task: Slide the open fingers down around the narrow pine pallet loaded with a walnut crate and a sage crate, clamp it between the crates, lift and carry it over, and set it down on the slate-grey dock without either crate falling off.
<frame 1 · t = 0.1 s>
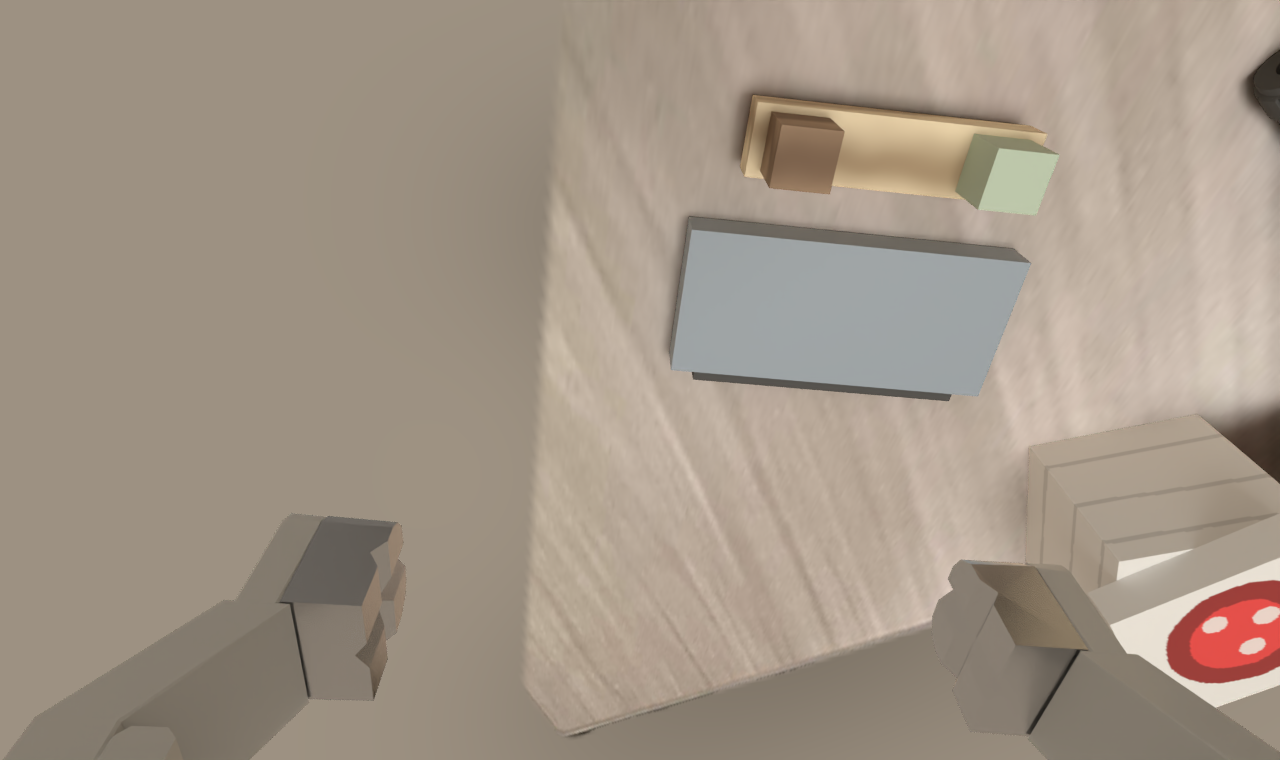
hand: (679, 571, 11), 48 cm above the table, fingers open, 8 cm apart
crate b: (992, 166, 52), point 4 cm above the table, touching pallet
crate a: (794, 144, 51), point 4 cm above the table, touching pallet
pizza boxes: (1164, 477, 72), on the table
dock: (835, 302, 62), on the table
pallet: (877, 141, 55), on the table, touching crate a, crate b
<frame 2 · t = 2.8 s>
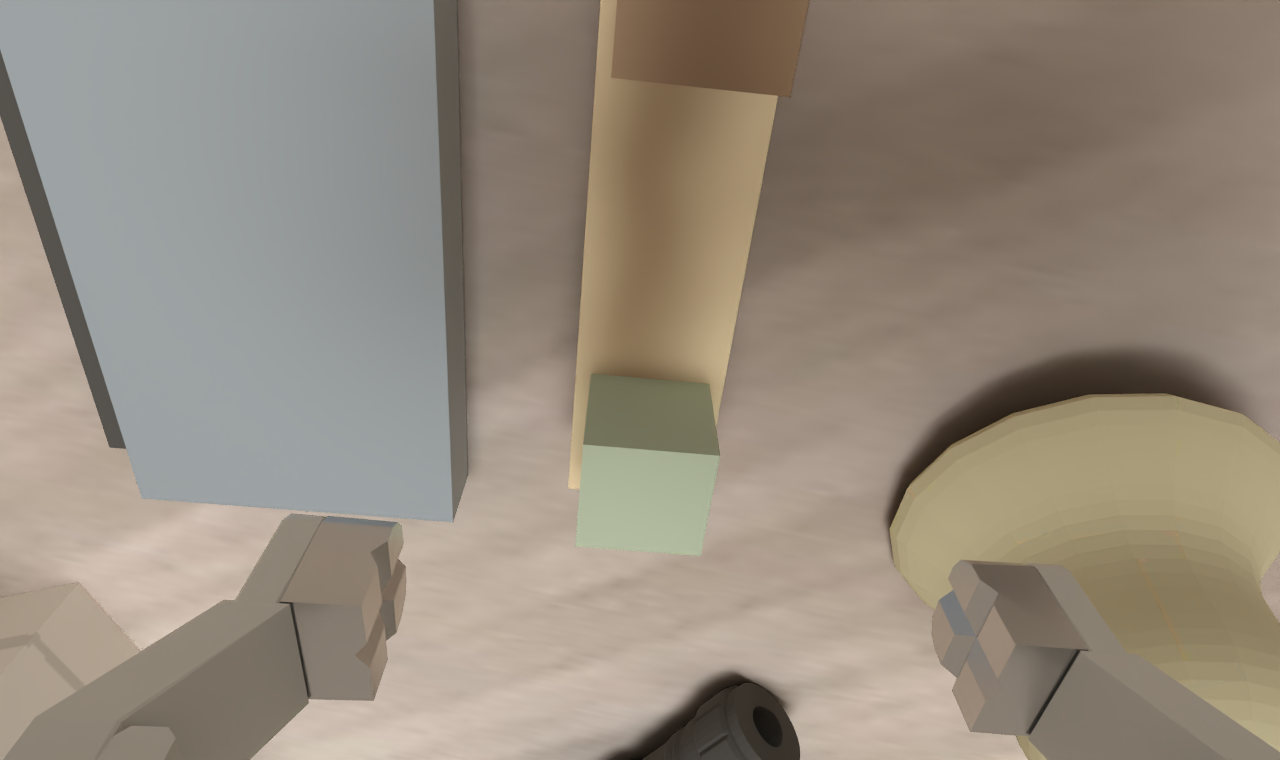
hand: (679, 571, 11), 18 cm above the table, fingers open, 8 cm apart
crate b: (644, 427, 26), point 4 cm above the table, touching pallet
pizza boxes: (110, 754, 43), on the table
handbell: (1056, 500, 33), on the table
dock: (282, 158, 25), on the table
pallet: (664, 196, 26), on the table, touching crate a, crate b
flashlight: (665, 744, 43), on the table
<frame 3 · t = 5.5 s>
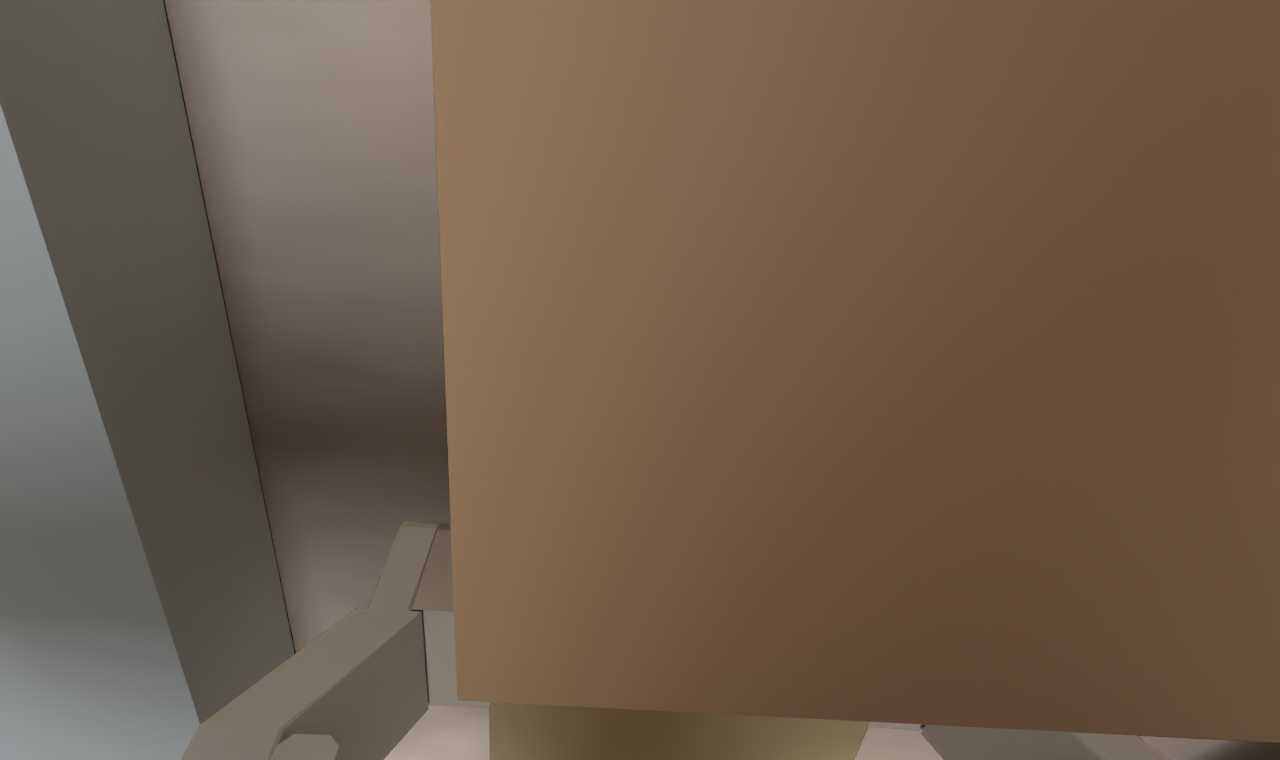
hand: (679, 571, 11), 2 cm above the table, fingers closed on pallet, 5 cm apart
crate a: (809, 100, 6), point 4 cm above the table, touching pallet
pallet: (673, 480, 13), on the table, touching crate a, crate b, gripper
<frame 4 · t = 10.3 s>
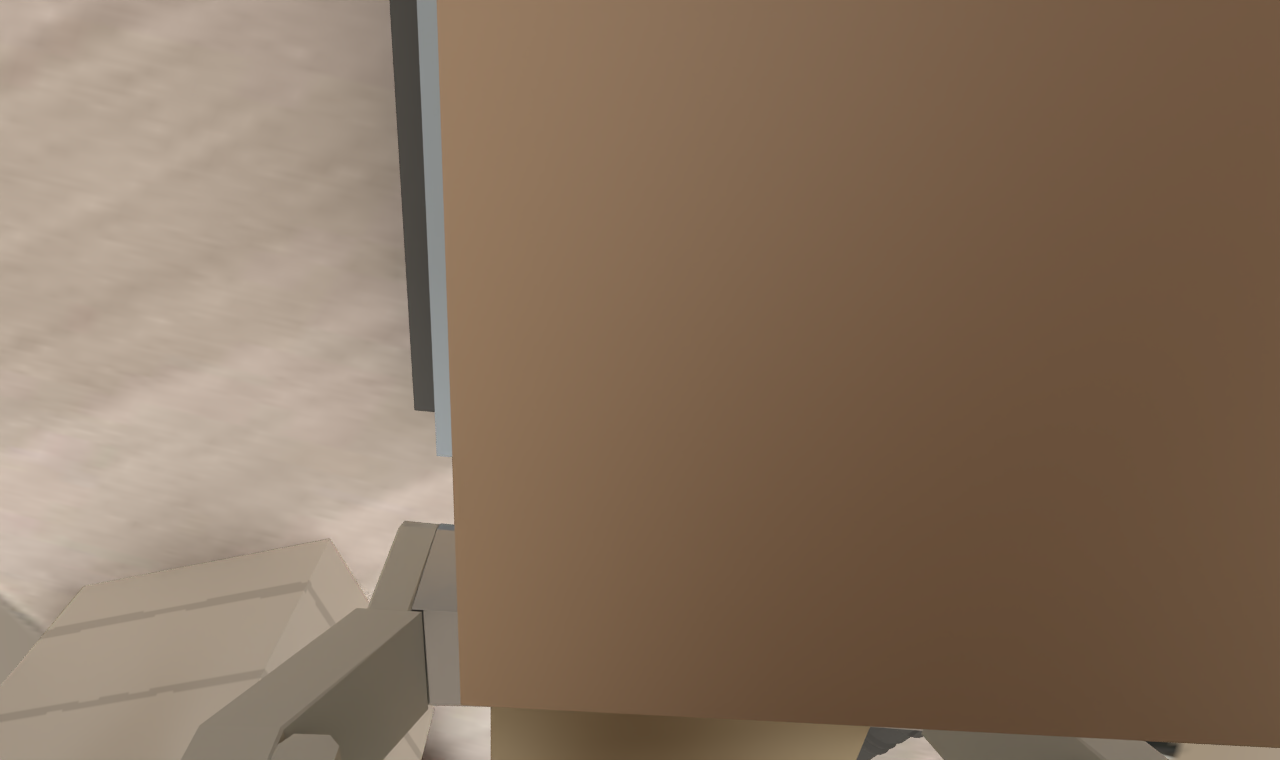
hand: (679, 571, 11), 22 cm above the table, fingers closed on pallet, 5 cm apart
crate a: (811, 104, 6), point 24 cm above the table, touching pallet
pizza boxes: (317, 703, 47), on the table
dock: (597, 157, 29), on the table
pallet: (674, 482, 13), point 20 cm above the table, touching crate a, crate b, gripper
flashlight: (821, 695, 47), on the table
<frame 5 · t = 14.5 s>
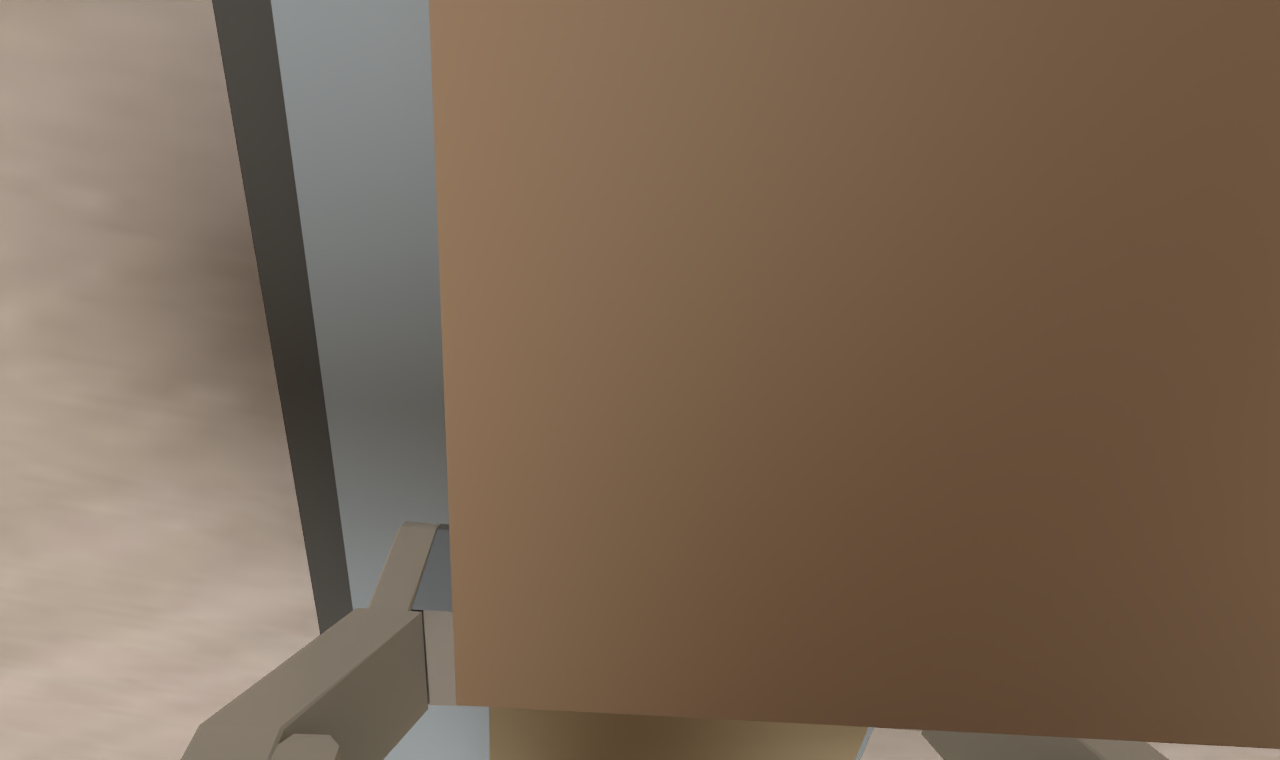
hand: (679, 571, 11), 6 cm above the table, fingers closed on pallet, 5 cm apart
crate a: (809, 104, 6), point 8 cm above the table, touching pallet
dock: (657, 367, 16), on the table
pallet: (673, 482, 13), point 4 cm above the table, touching crate a, crate b, gripper
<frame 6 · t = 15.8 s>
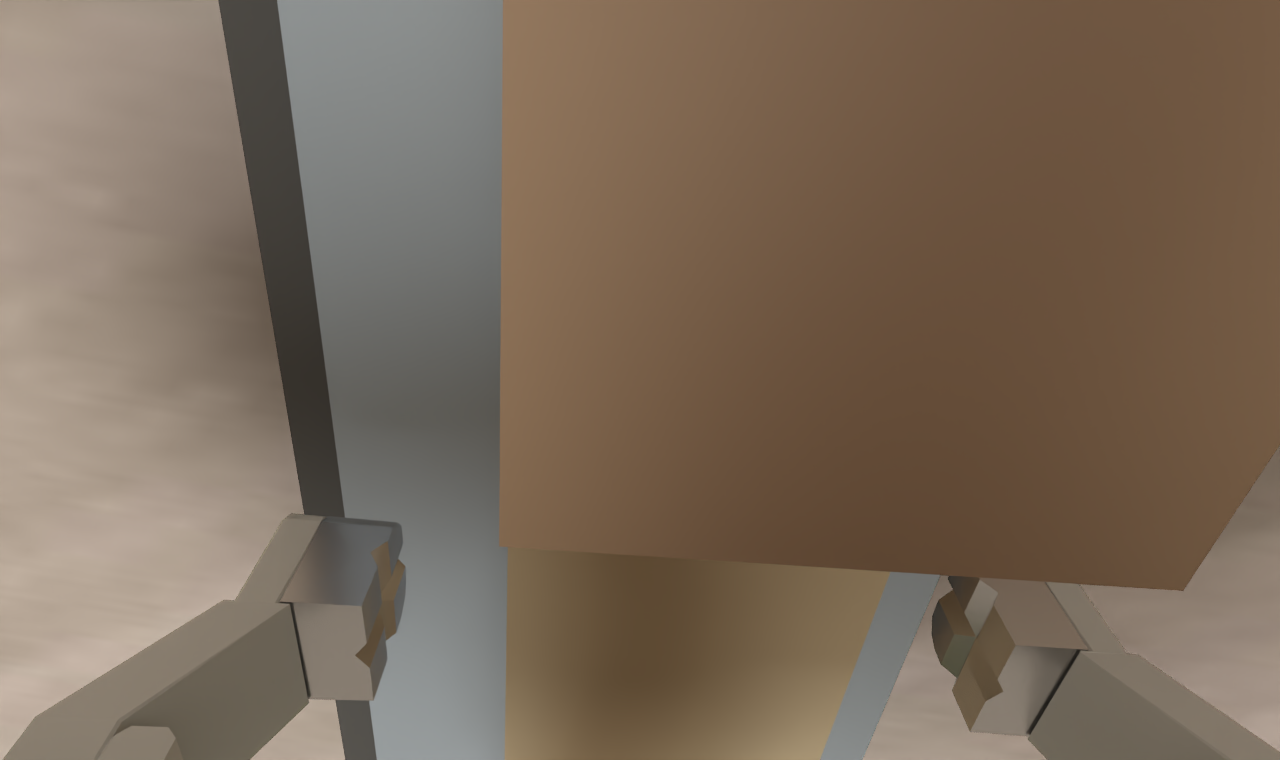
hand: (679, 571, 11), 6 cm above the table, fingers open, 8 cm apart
crate a: (791, 79, 7), point 7 cm above the table, touching pallet
dock: (661, 366, 16), on the table
pallet: (674, 448, 14), point 3 cm above the table, touching crate a, crate b, dock
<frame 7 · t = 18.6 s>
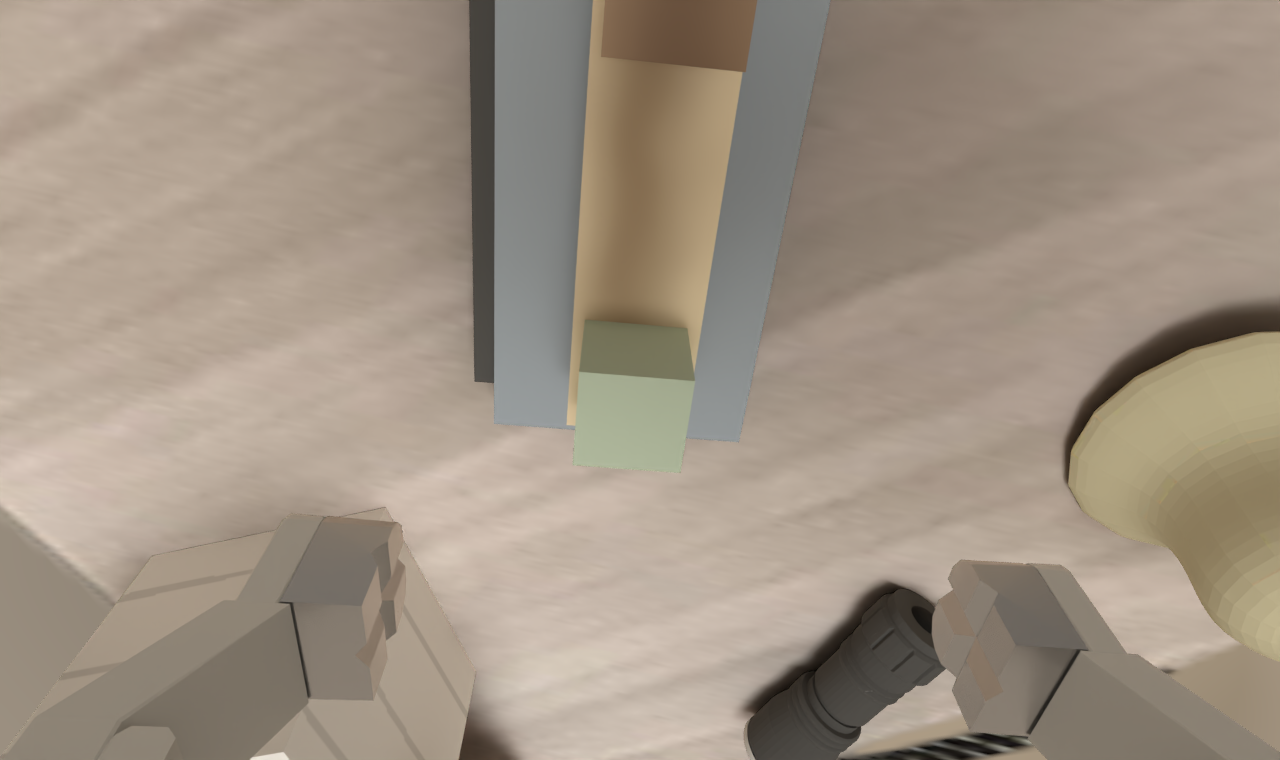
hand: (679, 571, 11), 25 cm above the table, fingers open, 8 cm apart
crate b: (631, 368, 30), point 7 cm above the table, touching pallet
pizza boxes: (365, 668, 50), on the table
handbell: (1203, 427, 41), on the table
dock: (644, 148, 33), on the table
pallet: (648, 167, 30), point 3 cm above the table, touching crate a, crate b, dock
flashlight: (834, 656, 50), on the table
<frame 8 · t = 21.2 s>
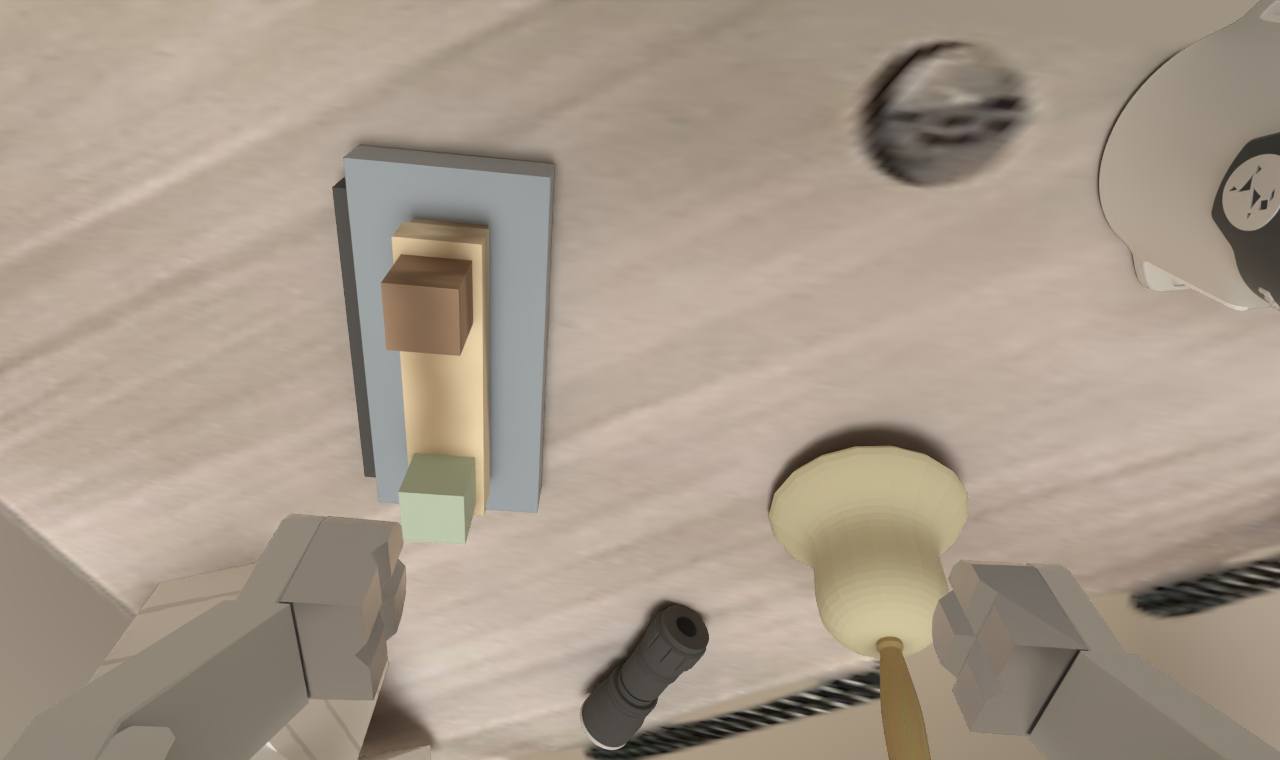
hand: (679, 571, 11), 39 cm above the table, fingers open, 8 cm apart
crate b: (445, 478, 51), point 7 cm above the table, touching pallet
crate a: (437, 289, 43), point 7 cm above the table, touching pallet
pizza boxes: (310, 660, 71), on the table
handbell: (860, 499, 61), on the table
dock: (462, 339, 53), on the table
pallet: (455, 360, 51), point 3 cm above the table, touching crate a, crate b, dock
flashlight: (642, 652, 71), on the table
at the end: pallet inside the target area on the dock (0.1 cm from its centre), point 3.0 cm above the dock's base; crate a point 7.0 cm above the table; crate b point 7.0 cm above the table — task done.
